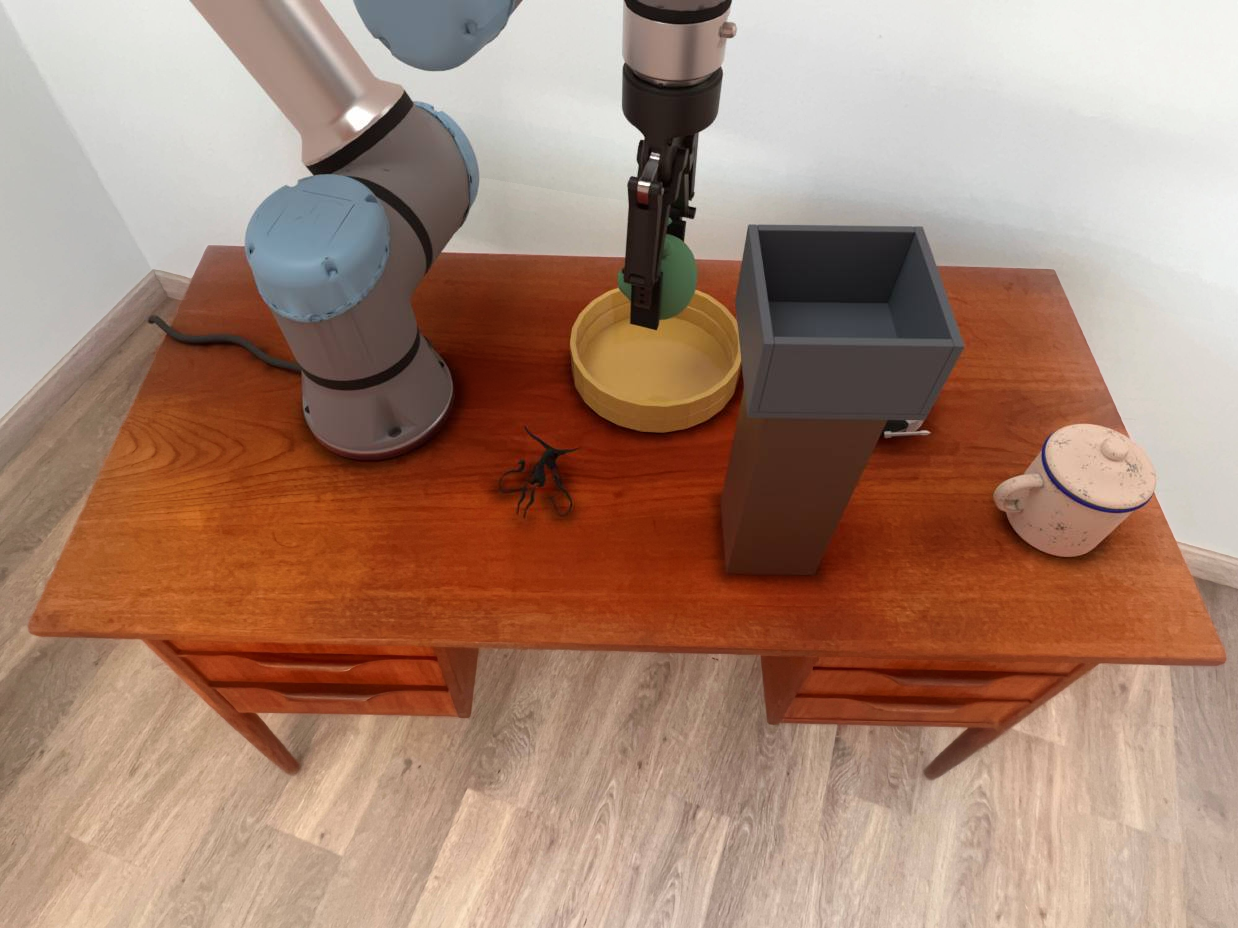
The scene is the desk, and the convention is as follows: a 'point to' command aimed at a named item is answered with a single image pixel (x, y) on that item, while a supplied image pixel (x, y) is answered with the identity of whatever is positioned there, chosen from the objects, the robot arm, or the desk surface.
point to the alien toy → (672, 277)
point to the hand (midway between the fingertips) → (656, 298)
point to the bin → (825, 378)
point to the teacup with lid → (1077, 489)
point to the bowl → (655, 363)
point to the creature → (541, 472)
